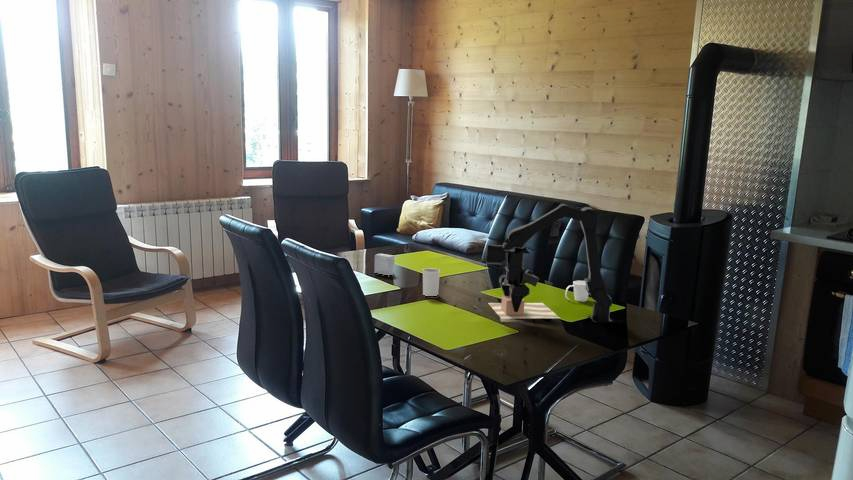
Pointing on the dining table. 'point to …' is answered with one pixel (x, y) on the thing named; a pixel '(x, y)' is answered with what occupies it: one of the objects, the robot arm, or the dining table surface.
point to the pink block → (511, 306)
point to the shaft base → (529, 312)
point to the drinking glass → (431, 281)
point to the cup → (578, 291)
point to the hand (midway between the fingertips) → (512, 308)
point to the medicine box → (384, 264)
